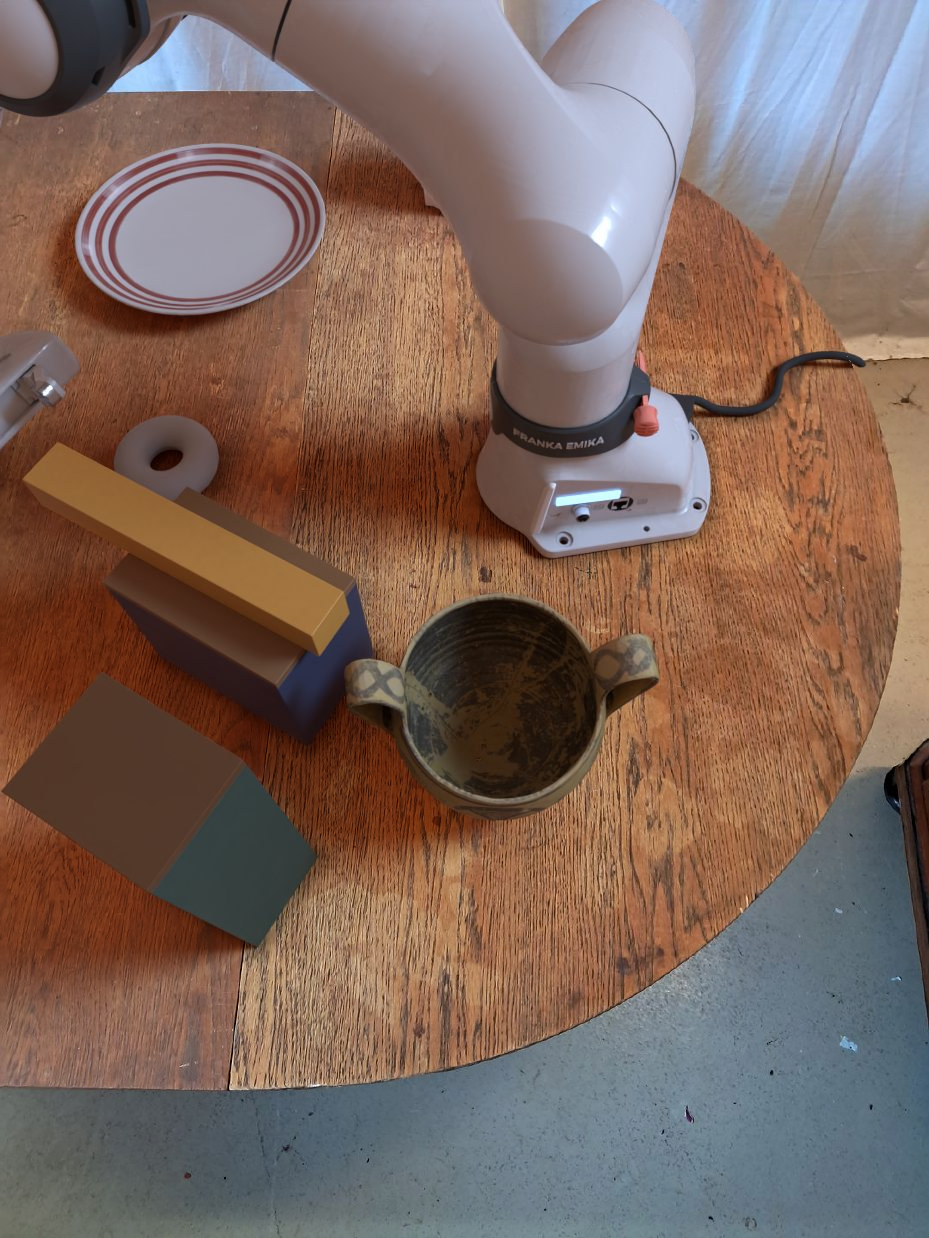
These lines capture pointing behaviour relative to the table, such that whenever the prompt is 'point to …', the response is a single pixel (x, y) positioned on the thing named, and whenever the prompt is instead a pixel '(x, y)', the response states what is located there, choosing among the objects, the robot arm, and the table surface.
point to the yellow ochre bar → (189, 548)
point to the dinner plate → (200, 229)
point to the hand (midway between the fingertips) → (10, 435)
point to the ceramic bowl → (500, 703)
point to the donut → (161, 437)
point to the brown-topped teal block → (165, 810)
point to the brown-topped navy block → (244, 632)
